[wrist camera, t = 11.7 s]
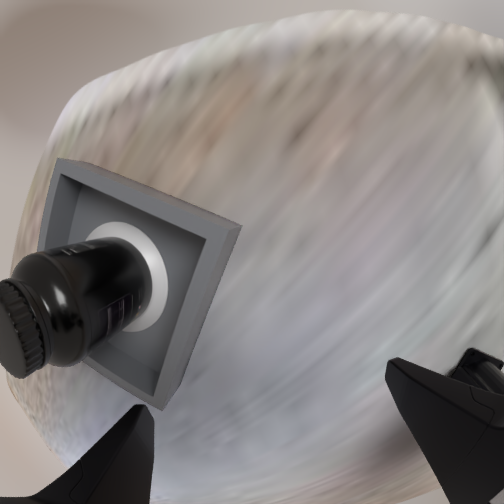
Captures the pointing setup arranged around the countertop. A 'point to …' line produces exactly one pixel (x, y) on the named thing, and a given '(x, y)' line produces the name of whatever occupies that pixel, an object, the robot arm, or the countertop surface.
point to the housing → (160, 264)
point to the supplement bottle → (70, 302)
